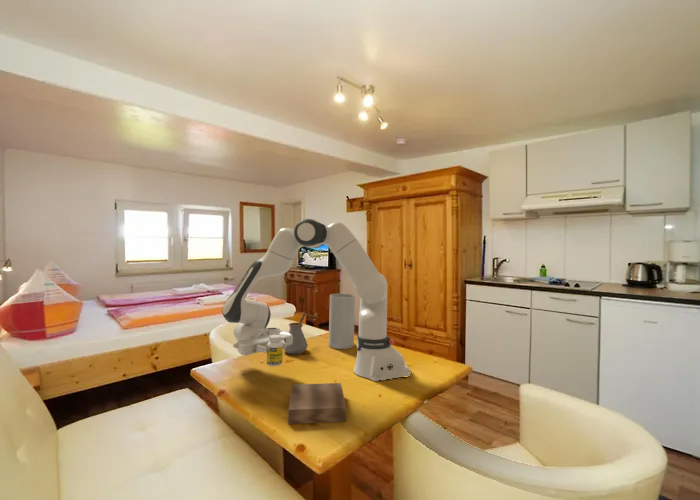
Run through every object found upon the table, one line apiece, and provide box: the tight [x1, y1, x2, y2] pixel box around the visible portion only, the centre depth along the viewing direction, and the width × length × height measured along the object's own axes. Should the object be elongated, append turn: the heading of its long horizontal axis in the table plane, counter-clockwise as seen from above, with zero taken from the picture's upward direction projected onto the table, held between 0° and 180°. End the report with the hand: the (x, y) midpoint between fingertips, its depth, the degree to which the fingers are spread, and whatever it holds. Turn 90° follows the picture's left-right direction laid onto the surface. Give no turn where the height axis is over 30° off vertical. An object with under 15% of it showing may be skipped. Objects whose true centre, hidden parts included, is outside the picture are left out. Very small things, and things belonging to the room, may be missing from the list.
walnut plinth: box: [287, 382, 347, 425], centre depth 96 cm, size 16×16×4 cm
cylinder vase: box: [328, 293, 356, 350], centre depth 157 cm, size 12×12×25 cm
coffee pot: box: [283, 312, 308, 355], centre depth 152 cm, size 21×12×15 cm, turn 172°
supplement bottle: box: [266, 335, 284, 367], centre depth 111 cm, size 5×5×10 cm
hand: (276, 348), depth 110 cm, fingers closed on supplement bottle, 5 cm apart
